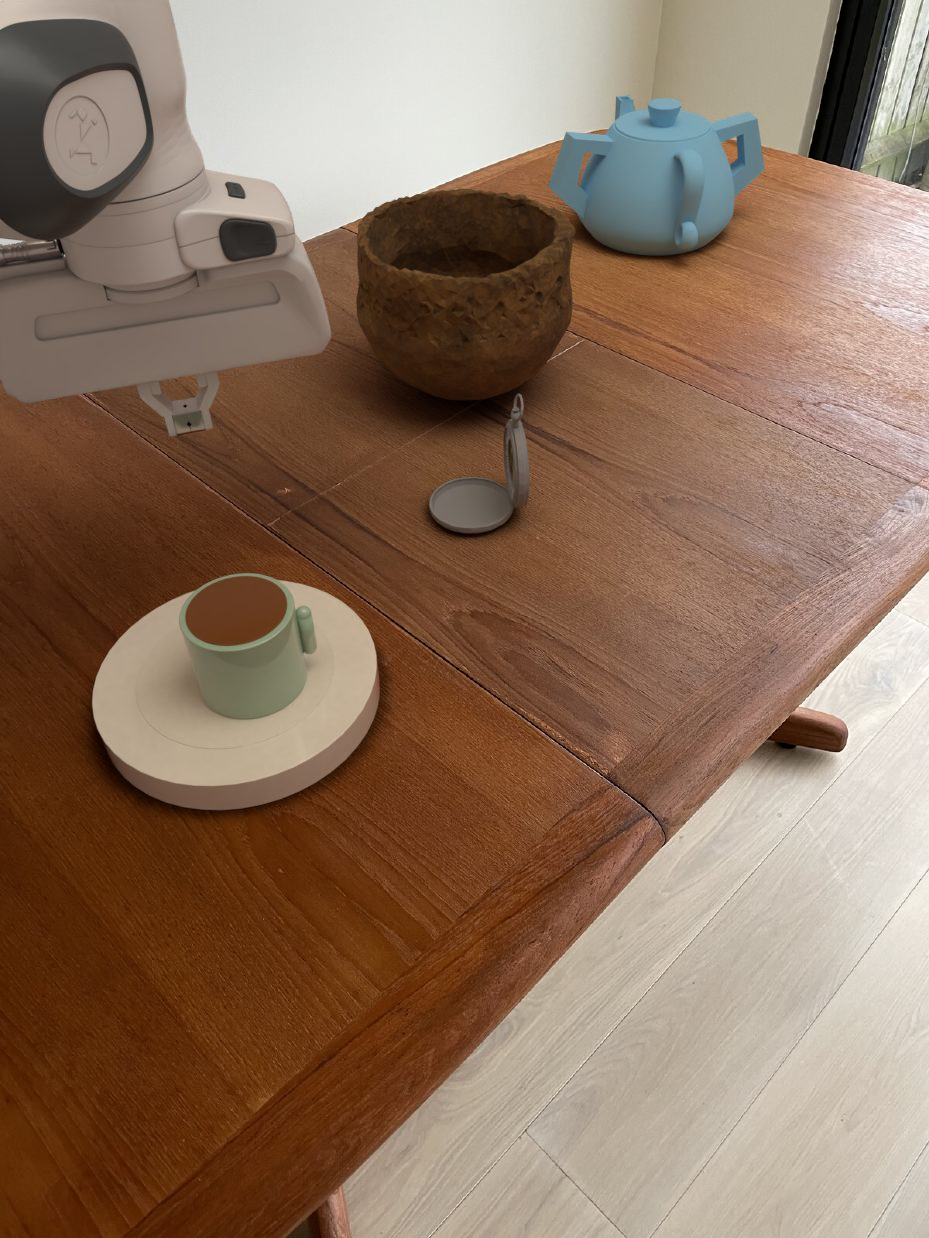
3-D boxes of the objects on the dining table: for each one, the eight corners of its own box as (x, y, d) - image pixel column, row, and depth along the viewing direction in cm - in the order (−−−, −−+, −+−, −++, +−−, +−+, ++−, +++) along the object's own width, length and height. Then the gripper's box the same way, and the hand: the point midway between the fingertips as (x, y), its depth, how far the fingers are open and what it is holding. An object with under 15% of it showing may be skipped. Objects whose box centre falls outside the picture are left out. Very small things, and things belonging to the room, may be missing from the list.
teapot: (759, 217, 119) (780, 90, 110) (688, 281, 108) (705, 146, 99) (614, 187, 128) (622, 66, 118) (535, 243, 116) (536, 115, 107)
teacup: (205, 730, 61) (183, 661, 57) (194, 653, 66) (173, 584, 62) (330, 702, 63) (318, 632, 59) (311, 629, 67) (298, 559, 63)
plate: (106, 842, 59) (94, 817, 57) (98, 634, 71) (89, 609, 69) (408, 769, 62) (406, 743, 60) (350, 582, 74) (346, 557, 73)
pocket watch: (413, 509, 81) (404, 400, 74) (492, 468, 84) (491, 360, 77) (479, 559, 76) (477, 447, 69) (561, 513, 80) (566, 402, 73)
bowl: (609, 373, 95) (622, 214, 85) (484, 466, 85) (481, 298, 74) (455, 316, 104) (449, 166, 93) (324, 394, 93) (302, 235, 83)
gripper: (-57, 275, 54) (29, 485, 64) (319, 220, 58) (347, 426, 67) (-48, 229, 59) (31, 431, 68) (302, 181, 62) (330, 379, 72)
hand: (191, 429), depth 68 cm, fingers closed
